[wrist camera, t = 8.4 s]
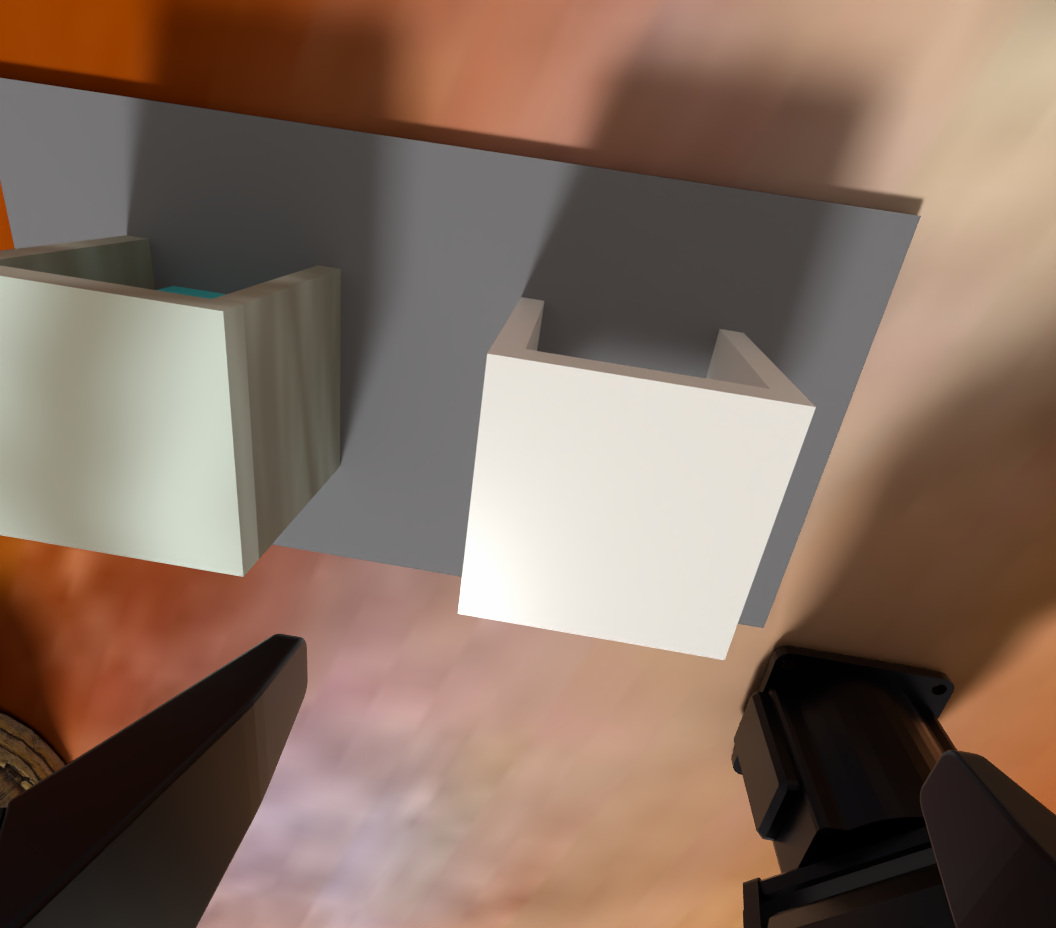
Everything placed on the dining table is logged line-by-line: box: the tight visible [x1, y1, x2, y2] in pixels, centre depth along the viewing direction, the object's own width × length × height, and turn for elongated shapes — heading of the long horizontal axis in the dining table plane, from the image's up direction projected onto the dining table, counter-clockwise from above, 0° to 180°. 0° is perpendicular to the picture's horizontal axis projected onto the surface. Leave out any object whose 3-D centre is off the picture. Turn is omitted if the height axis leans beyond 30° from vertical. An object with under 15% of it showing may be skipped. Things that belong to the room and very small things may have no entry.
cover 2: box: [458, 297, 816, 660], centre depth 17 cm, size 7×7×6 cm
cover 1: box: [0, 235, 341, 577], centre depth 17 cm, size 7×7×6 cm
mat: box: [0, 78, 921, 628], centre depth 20 cm, size 26×14×1 cm, turn 82°
